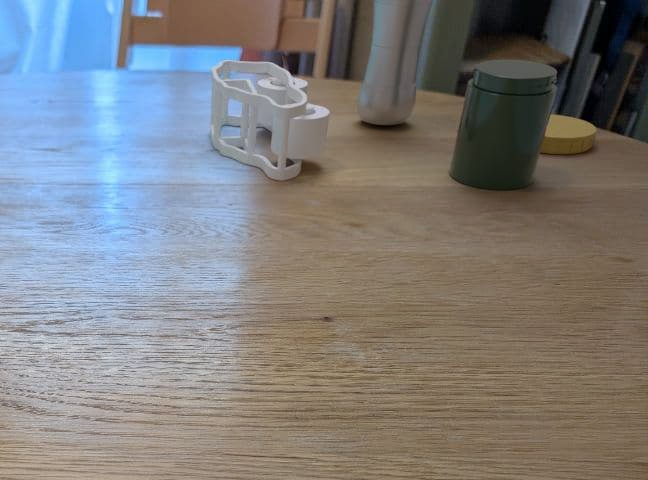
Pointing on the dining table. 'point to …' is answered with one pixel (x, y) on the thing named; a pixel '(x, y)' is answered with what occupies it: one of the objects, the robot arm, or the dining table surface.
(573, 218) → the dining table surface
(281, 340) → the dining table surface
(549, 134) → the lid
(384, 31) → the plastic bottle
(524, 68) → the green jar
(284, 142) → the car outline toy
